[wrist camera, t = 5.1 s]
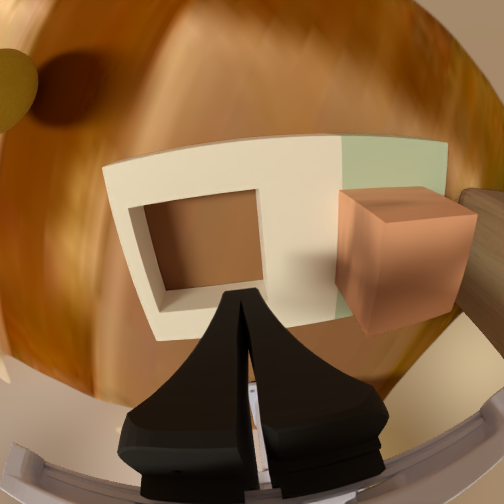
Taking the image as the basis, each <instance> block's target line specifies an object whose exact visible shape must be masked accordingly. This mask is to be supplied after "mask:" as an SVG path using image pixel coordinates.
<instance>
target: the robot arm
mask: <svg viewBox="0 0 504 504" xmlns="http://www.w3.org/2000/svg"><path fill="white" fill-rule="evenodd" d="M248 349H249V354H250V358H251V363H252V367H253V371H254V375H255V380H256V382H254V383H249V384H248ZM249 400H250V405H251V410H252V414H253V419H254V423H255V426H257V431H258V439H259V447H260V455H261V463H262V472H258V470H257V464H256V456H255V448H254V441H253V433H252V424H251V416H250V407H249ZM388 419H389V414H388V411H387V409H386V407H385V405H384V403H383V401H382V399H381V398H380V396H379V395H378V393H377V392H376V391H375V389H374V388H373V386H371V385H369V384H366V383H364V382H362V381H360V380H357V379H355V378H353V377H351V376H349V375H347V374H345V373H343V372H341V371H340V370H338V369H336V368H334V367H333V366H331V365H330V364H328V363H327V362H325V361H324V360H322V359H321V358H319V357H318V356H317V355H315V354H314V353H313V352H311V351H310V350H309V349H308V348H306V347H305V346H304V345H303V344H302V343H300V342H299V341H298V340H297V339H296V338H295V337H294V336H293V335H292V334H291V333H290V332H289V331H288V330H287V329H286V328H285V327H284V326H283V325H282V323H281V322H280V321H279V320H278V319H277V317H276V316H275V315H274V314H273V312H272V311H271V310H270V308H269V307H268V305H267V304H266V302H265V301H264V299H263V298H262V296H261V294H260V292H259V289H257V288H256V287H254V288H246V289H238V290H230V291H225V292H224V293H223V294H222V297H221V300H220V303H219V305H218V308H217V310H216V312H215V314H214V316H213V318H212V320H211V322H210V324H209V326H208V328H207V329H206V331H205V333H204V335H203V336H202V338H201V340H200V341H199V343H198V344H197V346H196V347H195V349H194V350H193V351H192V353H191V354H190V355H189V357H188V358H187V359H186V361H185V362H184V363H183V364H182V365H181V367H180V368H179V369H178V370H177V371H176V372H175V373H174V374H173V376H172V377H171V378H170V379H169V380H168V381H166V382H165V383H164V384H163V385H162V386H161V387H160V388H159V389H158V390H157V391H156V392H155V393H154V394H152V395H151V396H150V397H149V398H148V399H146V400H145V401H143V402H142V403H141V404H139V405H138V406H137V407H135V408H134V409H133V410H131V411H130V412H128V413H127V416H126V419H125V421H124V424H123V427H122V431H121V435H120V441H119V446H118V451H117V453H118V456H119V457H120V458H121V459H122V460H123V461H124V462H125V463H126V464H127V465H129V466H130V467H132V468H133V469H134V470H136V471H137V472H139V473H140V474H141V475H142V478H141V487H138V486H132V485H126V484H121V483H117V482H112V481H108V480H103V479H99V478H95V477H92V476H88V475H84V474H81V473H78V472H74V471H71V470H68V469H65V468H63V467H60V466H57V465H54V464H52V463H49V462H47V461H44V459H43V458H41V457H40V456H38V455H37V454H36V453H34V452H32V451H30V450H29V449H27V448H25V447H22V446H20V445H18V444H16V443H12V445H11V448H10V451H9V454H8V457H7V461H6V464H5V467H4V471H3V475H2V479H1V483H0V488H1V489H2V490H3V491H4V492H6V493H7V494H9V495H10V496H12V497H14V498H15V499H16V500H18V501H20V502H21V503H23V504H446V503H448V502H449V501H451V500H452V499H454V498H455V497H457V496H458V495H459V494H461V493H462V492H463V491H465V490H466V489H467V488H469V487H470V486H471V485H473V484H474V483H475V482H476V481H478V480H479V479H480V478H481V477H483V476H484V475H485V474H486V473H487V472H488V471H490V470H491V469H492V468H493V467H494V466H495V465H496V464H497V463H498V462H499V461H500V460H501V459H503V457H504V387H503V388H502V389H500V390H499V391H498V392H496V393H495V394H494V395H493V396H492V397H490V398H489V399H488V400H487V401H486V402H485V403H484V405H483V406H482V407H481V408H480V410H479V411H478V412H476V413H475V414H473V415H472V416H470V417H469V418H467V419H466V420H464V421H462V422H461V423H460V424H458V425H456V426H454V427H453V428H451V429H449V430H447V431H445V432H444V433H442V434H440V435H438V436H437V437H434V438H433V439H431V440H429V441H427V442H425V443H423V444H421V445H419V446H417V447H415V448H412V449H410V450H408V451H406V452H403V453H401V454H399V455H396V456H394V457H392V458H389V459H387V460H384V461H383V459H382V456H381V454H380V451H379V449H380V448H381V443H380V441H379V438H378V436H379V434H380V433H381V431H382V430H383V428H384V427H385V425H386V423H387V421H388ZM380 482H381V483H380ZM378 483H379V484H378ZM375 484H377V485H375ZM372 485H374V486H372ZM370 486H372V487H370Z"/></svg>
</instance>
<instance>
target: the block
mask: <svg viewBox="0 0 504 504" xmlns="http://www.w3.org/2000/svg"><path fill="white" fill-rule="evenodd" d="M477 216H478V214H477V213H475V212H473V211H471V210H469V209H467V208H466V207H464V206H462V205H460V204H458V203H456V202H454V201H452V200H450V199H448V198H446V197H444V196H442V195H440V194H438V193H436V192H434V191H432V190H429V189H427V188H425V187H423V186H413V187H382V188H362V189H345V190H339V195H338V240H337V260H336V275H335V285H336V286H337V288H338V290H339V291H340V293H341V295H342V296H343V298H344V300H345V301H346V303H347V305H348V306H349V308H350V310H351V312H352V313H353V315H354V317H355V318H356V320H357V322H358V324H359V325H360V327H361V329H362V331H363V332H364V334H365V336H366V338H367V337H371V336H374V335H378V334H382V333H386V332H389V331H393V330H396V329H400V328H403V327H406V326H410V325H413V324H416V323H419V322H422V321H425V320H428V319H431V318H434V317H437V316H440V315H443V314H446V313H448V312H451V310H452V308H453V305H454V302H455V299H456V296H457V294H458V291H459V288H460V284H461V281H462V278H463V275H464V271H465V268H466V264H467V261H468V257H469V253H470V249H471V245H472V241H473V236H474V231H475V226H476V221H477Z"/></svg>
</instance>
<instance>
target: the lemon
mask: <svg viewBox="0 0 504 504" xmlns="http://www.w3.org/2000/svg"><path fill="white" fill-rule="evenodd" d="M37 89H38V72H37V69H36V66H35V64H34V62H33V61H32V60H31V58H30V57H29V56H28V55H26V54H24V53H22V52H20V51H18V50H15V49H0V134H1V133H3V132H5V131H8V130H9V129H11V128H12V127H13V126H15V125H16V124H17V123H18V122H20V121H21V119H22V118H23V117H24V116H25V115H26V114H27V112H28V111H29V109H30V107H31V106H32V104H33V101H34V99H35V97H36V93H37Z"/></svg>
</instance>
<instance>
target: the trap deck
mask: <svg viewBox="0 0 504 504" xmlns="http://www.w3.org/2000/svg"><path fill="white" fill-rule="evenodd" d="M447 156H448V143H446V142H441V141H437V140H432V139H427V138H419V137H409V136H397V135H382V134H355V133H318V134H291V135H275V136H262V137H251V138H241V139H233V140H224V141H217V142H210V143H203V144H196V145H190V146H184V147H179V148H173V149H168V150H163V151H158V152H153V153H148V154H144V155H139V156H135V157H131V158H127V159H123V160H119V161H116V162H114V163H111V164H109V165H107V166H104V167H102V169H103V174H104V179H105V184H106V188H107V193H108V197H109V201H110V205H111V209H112V213H113V217H114V221H115V225H116V228H117V232H118V235H119V239H120V242H121V245H122V249H123V252H124V255H125V258H126V261H127V264H128V267H129V270H130V273H131V276H132V279H133V282H134V285H135V288H136V290H137V293H138V296H139V299H140V301H141V304H142V306H143V309H144V312H145V314H146V317H147V319H148V322H149V324H150V326H151V329H152V331H153V334H154V336H155V338H156V340H157V341H165V340H181V339H194V338H202V336H203V335H204V333H205V331H206V329H207V328H208V326H209V324H210V322H211V320H212V318H213V316H214V314H215V312H216V310H217V308H218V305H219V303H220V300H221V297H222V294H223V293H224V292H225V291H230V290H238V289H246V288H254V287H256V288H257V289H259V292H260V294H261V296H262V298H263V299H264V301H265V302H266V304H267V305H268V307H269V308H270V310H271V311H272V312H273V314H274V315H275V316H276V317H277V319H278V320H279V321H280V322H281V323H282V325H283V326H284V327H285V328H287V327H294V326H300V325H306V324H311V323H317V322H322V321H328V320H333V319H338V318H343V317H348V316H353V313H352V312H351V310H350V308H349V306H348V305H347V303H346V301H345V300H344V298H343V296H342V295H341V293H340V291H339V290H338V288H337V286H336V285H335V275H336V260H337V240H338V195H339V190H345V189H362V188H382V187H413V186H423V187H425V188H427V189H429V190H432V191H434V192H436V193H438V194H440V195H442V196H444V195H445V186H446V174H447ZM250 189H255V191H256V201H257V211H258V222H259V233H260V244H261V255H262V266H263V277H264V279H263V280H255V281H248V282H240V283H232V284H223V285H215V286H206V287H197V288H188V289H179V290H170V291H166V290H165V286H164V283H163V280H162V276H161V273H160V269H159V266H158V262H157V259H156V255H155V252H154V248H153V244H152V240H151V236H150V232H149V228H148V224H147V220H146V216H145V212H144V207H143V205H148V204H154V203H159V202H165V201H171V200H177V199H184V198H190V197H197V196H204V195H211V194H218V193H226V192H234V191H242V190H250Z"/></svg>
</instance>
